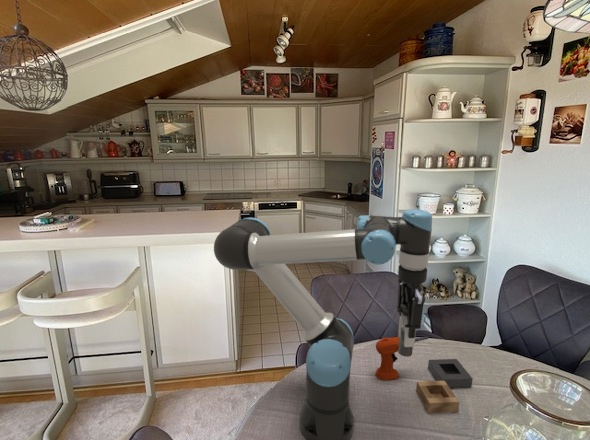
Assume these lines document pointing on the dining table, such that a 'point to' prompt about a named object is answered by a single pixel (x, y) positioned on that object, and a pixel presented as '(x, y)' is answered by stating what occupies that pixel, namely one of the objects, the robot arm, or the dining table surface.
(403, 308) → the dark grey tall piece
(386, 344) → the toy drill
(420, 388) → the wooden square frame
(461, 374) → the block
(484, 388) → the dining table surface
